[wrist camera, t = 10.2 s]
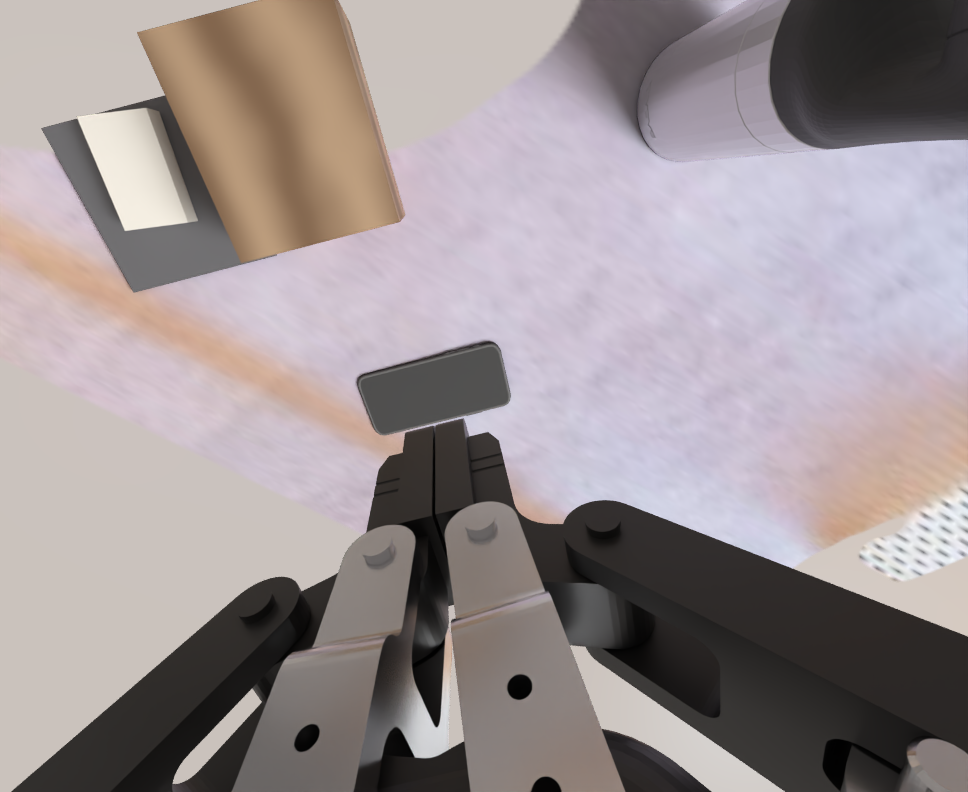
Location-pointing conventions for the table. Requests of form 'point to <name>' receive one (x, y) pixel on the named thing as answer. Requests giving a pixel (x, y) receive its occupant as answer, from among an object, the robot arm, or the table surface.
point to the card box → (138, 168)
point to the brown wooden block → (278, 122)
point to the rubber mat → (155, 249)
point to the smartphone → (435, 388)
